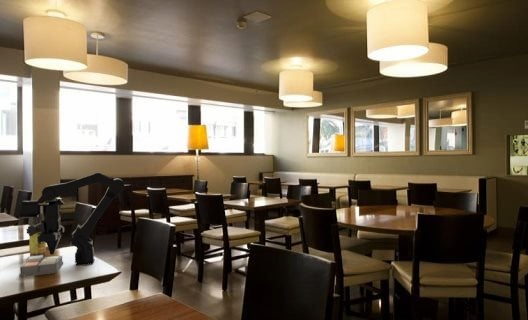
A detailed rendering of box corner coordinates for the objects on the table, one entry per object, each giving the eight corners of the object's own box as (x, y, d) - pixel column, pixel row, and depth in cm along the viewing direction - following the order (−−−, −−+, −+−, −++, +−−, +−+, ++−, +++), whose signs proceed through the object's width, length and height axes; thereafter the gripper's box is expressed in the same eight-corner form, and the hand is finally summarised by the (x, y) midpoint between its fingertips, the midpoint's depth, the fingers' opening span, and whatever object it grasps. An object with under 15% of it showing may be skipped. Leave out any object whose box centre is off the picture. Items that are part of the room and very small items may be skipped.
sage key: (59, 260, 153) (59, 255, 153) (57, 263, 149) (57, 258, 149) (47, 261, 152) (47, 257, 152) (45, 264, 148) (45, 260, 148)
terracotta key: (39, 266, 146) (39, 261, 146) (36, 269, 141) (36, 264, 141) (26, 267, 144) (26, 262, 144) (23, 271, 140) (23, 266, 140)
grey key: (43, 260, 151) (43, 255, 151) (40, 263, 147) (40, 258, 147) (31, 261, 150) (30, 256, 150) (27, 264, 146) (27, 259, 146)
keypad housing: (63, 263, 155) (63, 255, 154) (57, 272, 143) (56, 263, 143) (28, 267, 150) (28, 258, 150) (19, 276, 139) (19, 267, 139)
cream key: (56, 262, 147) (56, 257, 147) (54, 265, 143) (54, 260, 143) (44, 263, 146) (44, 258, 146) (41, 266, 142) (41, 261, 142)
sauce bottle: (40, 257, 164) (39, 213, 163) (26, 258, 164) (25, 213, 163) (49, 253, 170) (48, 211, 170) (35, 253, 170) (34, 211, 170)
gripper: (34, 213, 156) (35, 250, 156) (21, 221, 138) (22, 262, 139) (64, 212, 160) (64, 248, 160) (55, 219, 142) (55, 259, 142)
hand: (52, 254), depth 150 cm, fingers closed
